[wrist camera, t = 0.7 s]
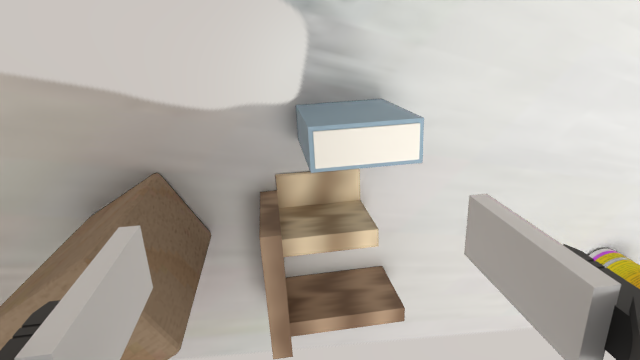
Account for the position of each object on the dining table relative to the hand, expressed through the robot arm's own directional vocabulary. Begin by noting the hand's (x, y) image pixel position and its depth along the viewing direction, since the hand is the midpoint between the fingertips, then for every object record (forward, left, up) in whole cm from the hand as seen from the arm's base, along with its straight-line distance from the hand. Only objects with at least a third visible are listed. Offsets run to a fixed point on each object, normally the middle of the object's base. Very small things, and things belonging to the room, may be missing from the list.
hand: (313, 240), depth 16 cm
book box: (+7, -1, -31) cm, 32 cm away
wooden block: (-16, -12, -31) cm, 37 cm away
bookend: (+4, -10, -31) cm, 33 cm away
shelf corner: (+4, -16, -31) cm, 35 cm away
